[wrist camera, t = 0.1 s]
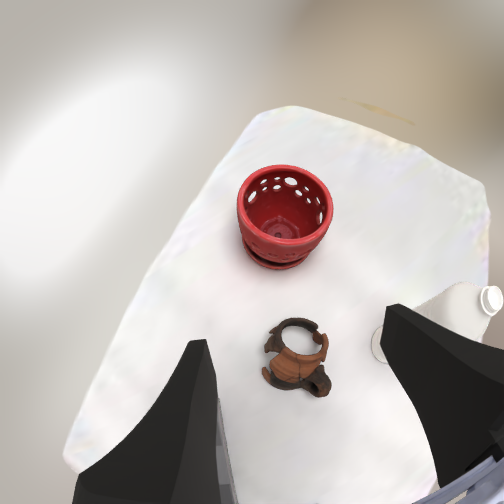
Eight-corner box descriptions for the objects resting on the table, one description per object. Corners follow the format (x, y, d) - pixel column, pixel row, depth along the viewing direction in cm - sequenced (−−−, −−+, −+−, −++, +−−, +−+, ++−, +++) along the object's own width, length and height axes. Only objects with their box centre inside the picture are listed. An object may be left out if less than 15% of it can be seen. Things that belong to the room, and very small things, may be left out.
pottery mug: (243, 363, 41) (254, 330, 36) (288, 336, 46) (303, 302, 41) (299, 421, 34) (321, 397, 29) (340, 385, 40) (364, 356, 35)
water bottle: (366, 359, 40) (470, 325, 17) (375, 319, 42) (473, 253, 20) (411, 370, 38) (527, 343, 16) (419, 332, 41) (527, 280, 18)
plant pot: (245, 282, 45) (240, 249, 35) (237, 212, 51) (232, 166, 40) (325, 272, 46) (345, 238, 35) (309, 205, 51) (321, 160, 41)
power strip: (239, 512, 29) (238, 521, 27) (188, 513, 29) (183, 521, 26) (218, 397, 38) (215, 399, 35) (166, 401, 37) (159, 402, 35)
